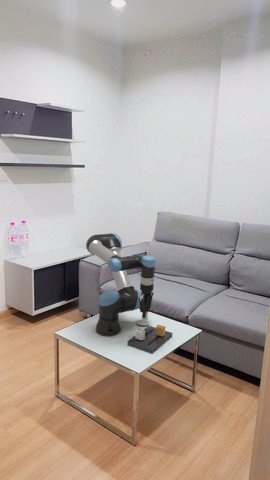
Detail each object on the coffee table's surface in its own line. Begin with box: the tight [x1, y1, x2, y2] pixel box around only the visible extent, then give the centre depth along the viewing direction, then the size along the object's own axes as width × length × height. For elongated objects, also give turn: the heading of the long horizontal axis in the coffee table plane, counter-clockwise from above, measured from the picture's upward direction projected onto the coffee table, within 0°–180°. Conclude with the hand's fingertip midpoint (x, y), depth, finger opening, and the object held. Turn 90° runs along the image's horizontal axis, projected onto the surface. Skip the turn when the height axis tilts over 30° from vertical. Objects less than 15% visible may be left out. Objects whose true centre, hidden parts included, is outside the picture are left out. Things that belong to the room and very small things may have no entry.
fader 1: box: [134, 327, 145, 340], centre depth 204 cm, size 4×3×5 cm
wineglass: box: [135, 290, 150, 327], centre depth 228 cm, size 9×9×21 cm
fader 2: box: [155, 324, 166, 336], centre depth 210 cm, size 4×3×5 cm
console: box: [127, 325, 173, 354], centre depth 208 cm, size 16×24×2 cm, turn 148°
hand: (144, 322), depth 208 cm, fingers closed
